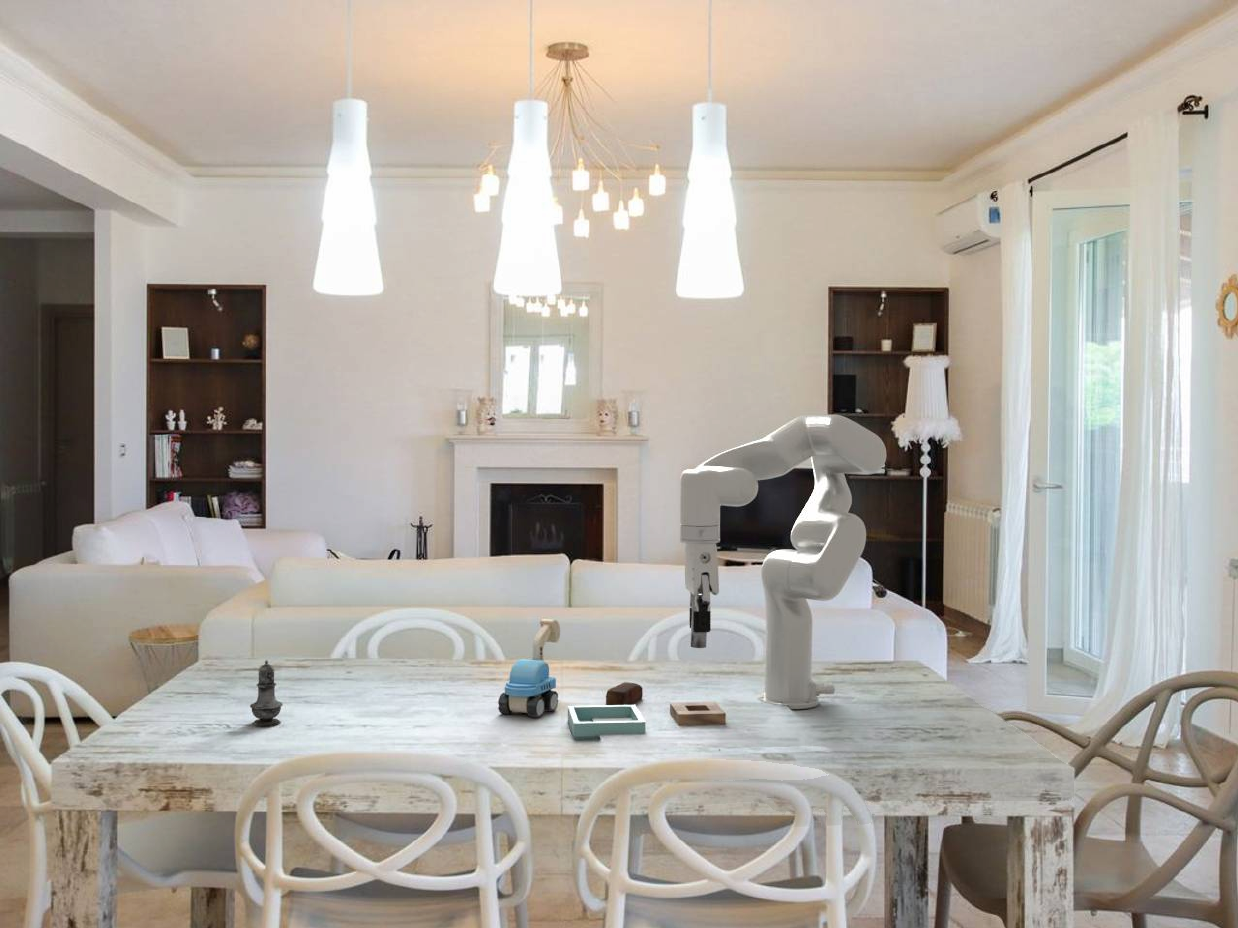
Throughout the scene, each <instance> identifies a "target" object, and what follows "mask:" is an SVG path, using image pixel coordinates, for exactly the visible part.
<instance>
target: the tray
mask: <svg viewBox="0 0 1238 928" xmlns="http://www.w3.org/2000/svg"><path fill="white" fill-rule="evenodd" d="M593 718H630V719H631V720H613V721H611V720H608V721H605V720H602V721H594V719H593ZM567 723H568V727H569V729H570V732H571V735H572V736H571V737H572V739H573V738H574V739H573V740H574V741H577V740H576V739H580V740H579V741H583V740H582V739H586V740H589V741H591V740H592V739H594V740H602V738H601V735H624V734H646V721H645V718H644V717H643V716H642V714H641V712H640V710H639V709H638V707H637V706H636V704H633V705H606V704H605V705H567ZM586 740H585V741H586ZM594 740H593V741H594Z"/></svg>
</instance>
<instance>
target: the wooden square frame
mask: <svg viewBox="0 0 1238 928" xmlns="http://www.w3.org/2000/svg"><path fill="white" fill-rule="evenodd" d="M669 714H670V716H671V717H672V719H673V720H674V721H675V723H676V724H677V726H696V725H698V726H701V725H703V726H704V725H705V726H709V725H711V726H712V725H726V722H727V721H726V720H727V717H726V716H727V715H726V712H725V711H724V709H723V708H721V707H720V705H719V704H718V703H717V702H716V701H706V702H705V701H704V702H703V701H702V702H700V701H699V702H697V701H696V702H694V701H693V702H670V703H669Z"/></svg>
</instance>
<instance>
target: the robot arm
mask: <svg viewBox="0 0 1238 928" xmlns="http://www.w3.org/2000/svg"><path fill="white" fill-rule="evenodd" d="M808 459H811V460H810V461H811V464H812V469H813V476H814V489H813V491H812V493H811V496H810V497H809V499H808V501H807V502H806V503H805V506H804V508H803V509H802V510H801V513H800V514H799V516H798V517H797V519H796V520H795V523H794V525H793V527H792V530H791V532H790V542H791V544H792V547H793V548H795V549H788V548H787V549H784V548H782V549H777V550H775V551H772V552H770V553H769V554H768V555H767V556H766V557H765V559H764V560H763V563H762V566H761V573H760V574H761V582H762V587H763V593H764V600H765V640H764V641H765V645H764V648H765V650H764V653H765V655H764V691H762V692H760V693H758V694H757V695H756V698H757V700H758V701H761V702H764V703H767V704H771V705H779V706H786V707H787V708H788V709H790V710H804V709H811V708H815V707H816V706H817V707H818V705H819V701H820V700H819V697H820V695H823V694H824V695H834V694H835V690H836V689H835V685H834V684H825V683H816V682H815V681H814V680H812V667H813V663H812V658H813V615H812V610H811V608H810V605H809V603H808V601H807V600H812V601H813V600H814V601H818V602H820V601H822V602H826V601H827V602H828V601H831V600H833V599H834V598H836V597H837V596H838V595H839V594H840V592H841V591H842V590H843V588H844V587H845V585H846V584H847V581H848V580H849V577H850V576H851V574H852V572H853V571H854V569H855V567H856V565H857V564H858V562H859V560H860V558H861V556H862V554H863V552H864V550H865V546H866V542H867V530H866V526H865V523H864V521H863V520H862V519H861V518H860V517H859V516H857V515H856V514H855V513H851V512H849V511H850V510H851V509H850V508H851V506H852V504H853V503H852V502H853V499H852V498H853V495H852V493H851V490H850V487H849V485H848V483H847V479H846V475H847V474H849V475H873V474H876V473H878V472H879V471H880V470H882V468H883V467H884V465H885V463H886V460H887V449H886V445H885V443H884V441H883V440H882V438H881V437H879V435H877V434H876V433H874V432H872V431H871V430H869V429H868V428H866V427H865V426H863V425H861V424H859V423H858V422H856V421H853V420H852V419H851V418H848V417H846V416H843V415H840V414H835V413H834V414H825V413H824V414H817V413H815V414H802V415H799V416H797V417H795V418H794V419H792V420H791V421H788V422H787V423H785V424H783V425H782V426H780V427H779V428H777V429H776V430H775V431H773V432H771V433H770V434H767V436H764V437H763V438H760V439H759V440H754V441H751V442H749V443H746V444H743V445H740V446H737V447H733V448H731V449H728V450H725V451H724V452H721V453H719V454H716V455H714V456H713V457H711V458H709V459H707V460H706V461H704V462H703V463H701V464H699V465H698V466H697V467H696V468H694V469H692V468H691V469H686V470H684V471H683V472H682V473H681V475H680V481H679V482H680V489H679V490H680V493H679V494H680V496H679V497H680V498H679V499H680V502H679V504H680V507H679V509H680V511H679V513H680V515H679V516H680V517H679V518H680V523H679V524H680V525H679V526H680V527H679V528H680V533H679V534H680V535H679V537H680V538H679V539H680V540H679V541H680V543H682V544H683V543H684V544H685V549H684V553H685V554H684V583H685V584H684V585H685V589H686V590H687V591H688V592H689V629H691V621H692V594H694V595H695V611H693V631H694V632H695V633H699V632H707V633H710V632H711V631H712V630H711V625H712V624H711V621H712V620H711V616H712V615H711V613H712V611H711V594H712V595H714V596H717V595H718V594H719V592H720V587H719V586H720V584H719V583H720V582H719V562H718V561H719V560H718V559H719V558H718V549H717V544H718V543H720V542H721V506H726V507H742V506H746V505H748V504H750V503H751V502H752V501H753V500H755V499H756V497H757V494H758V492H759V482H758V481H761V480H762V481H764V480H765V481H766V480H769V479H775V478H779V477H782V476H784V475H786V474H788V473H789V472H791V471H792V470H793V469H795V468H797V467H798V466H799V465H801V464H802V463H804V462H805V461H807V460H808ZM845 474H846V475H845ZM698 593H702V595H698ZM699 598H702V599H700V600H699Z"/></svg>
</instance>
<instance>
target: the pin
mask: <svg viewBox="0 0 1238 928" xmlns="http://www.w3.org/2000/svg"><path fill="white" fill-rule="evenodd" d="M698 595H702V593H698ZM700 599H702V598H699V600H700ZM691 608H692V621H691V628H690V647H691V648H695V649H705V648H707V641H708V640H707V636H708V632H699V633H695V632H694V631H693V611H695V595H694V594H692V607H691Z"/></svg>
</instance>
